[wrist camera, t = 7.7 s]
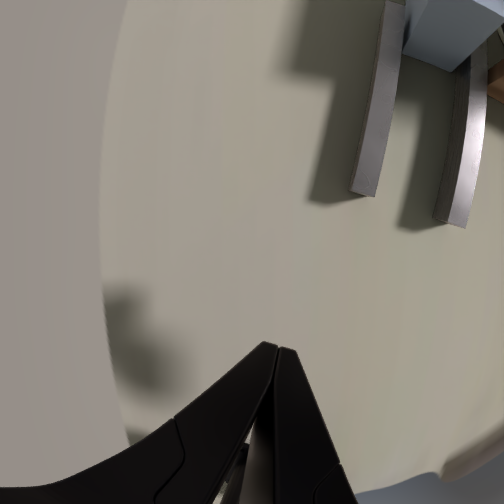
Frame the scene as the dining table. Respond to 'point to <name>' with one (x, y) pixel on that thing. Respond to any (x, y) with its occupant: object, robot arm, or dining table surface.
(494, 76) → the walnut bay
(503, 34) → the coffee can
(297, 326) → the dining table surface
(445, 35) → the blue block white cap
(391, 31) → the rails
